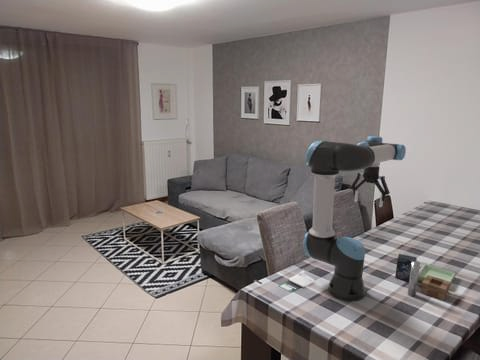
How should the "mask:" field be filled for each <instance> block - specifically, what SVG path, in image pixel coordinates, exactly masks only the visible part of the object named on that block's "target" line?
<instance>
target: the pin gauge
mask: <svg viewBox="0 0 480 360" xmlns="http://www.w3.org/2000/svg"><path fill="white" fill-rule="evenodd" d="M420 269H421V262H419V261H417V260H416V261H412V264H411V272H410V279H409V281H408V289H407V295H408V296H409V297H411V298H412V297H416V295H417V290H418V283H419V281H418V276H419V270H420Z"/></svg>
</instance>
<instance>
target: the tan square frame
mask: <svg viewBox="0 0 480 360" xmlns="http://www.w3.org/2000/svg"><path fill="white" fill-rule="evenodd" d="M449 286H450V287H451V285H450V282H449V281H446V280H443V279H439V278H436V277H433V276H429V275H427V277H426V278H425V279H424V281H423V282H421V288H420V289H421V290H420V293H421V294H423V295H427V296H430V297H433V298H434V299H435V298H436V299H439V300H442V301H445V299H446V298H447V296H448V294H449V291H450V287H449Z"/></svg>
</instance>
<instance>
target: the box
mask: <svg viewBox="0 0 480 360" xmlns="http://www.w3.org/2000/svg"><path fill="white" fill-rule="evenodd" d="M412 261H417V257H416V256H412V255H408V254H403V253H398V256H397V261H396V269H395V274H394V275H395V276H394V278H395V279H399V280H404V281H408V282H409V279H410V272H411V264H412Z"/></svg>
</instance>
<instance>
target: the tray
mask: <svg viewBox="0 0 480 360" xmlns="http://www.w3.org/2000/svg"><path fill="white" fill-rule="evenodd" d="M427 275H429V276H433V277H436V278H439V279H443V280H446V281H449V282H450V286H449V288H450V287H451V285H452V283H453V282H454V279H455V278H456V272H455V271H450V270H449V269H448V270H447V269H444V268H440V267H436V266H433V265H430V264H426V263H424V264H423V265H422V266H420V269H419V276H418V282H421V283H422V282H423V281H424V279H425V278H426V277H427Z"/></svg>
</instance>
